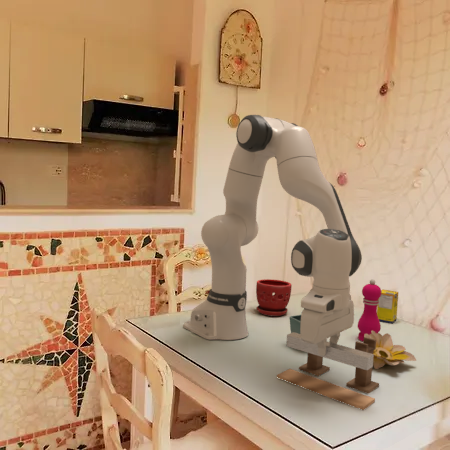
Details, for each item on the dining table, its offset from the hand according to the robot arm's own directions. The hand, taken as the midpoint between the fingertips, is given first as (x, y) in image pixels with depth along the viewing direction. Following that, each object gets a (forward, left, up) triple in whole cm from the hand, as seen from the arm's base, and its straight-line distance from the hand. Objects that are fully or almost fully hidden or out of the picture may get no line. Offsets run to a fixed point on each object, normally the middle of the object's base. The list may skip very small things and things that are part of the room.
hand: (327, 352), depth 121 cm
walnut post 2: (+6, +9, -10) cm, 14 cm away
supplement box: (-14, +70, -10) cm, 72 cm away
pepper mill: (-9, +44, -10) cm, 46 cm away
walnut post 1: (-8, +9, -10) cm, 15 cm away
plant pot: (-48, +45, -10) cm, 67 cm away
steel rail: (0, 0, -1) cm, 1 cm away
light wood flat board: (0, 0, -10) cm, 10 cm away
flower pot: (-19, +23, -10) cm, 31 cm away
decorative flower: (+4, +26, -10) cm, 28 cm away
